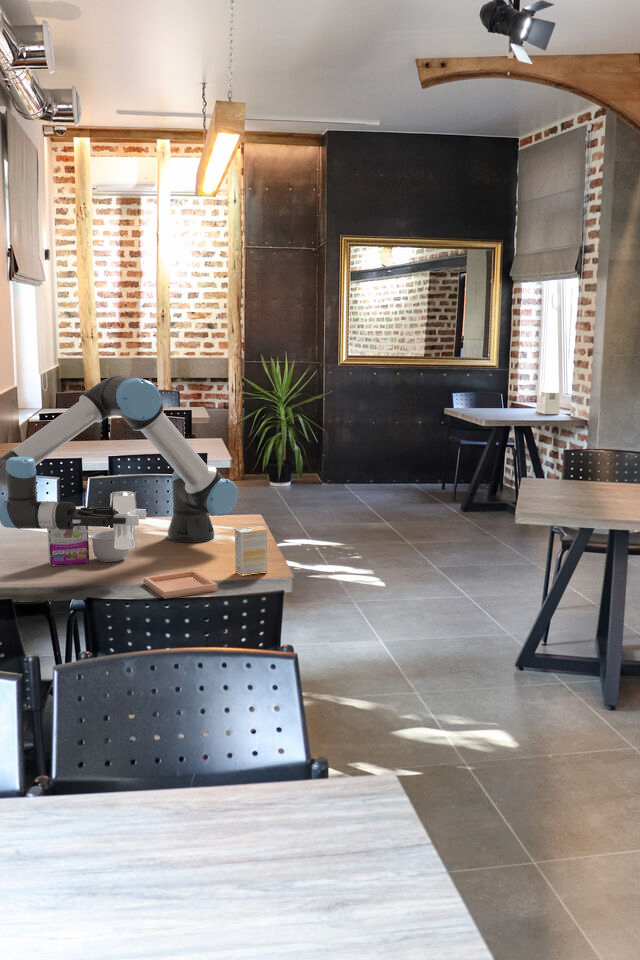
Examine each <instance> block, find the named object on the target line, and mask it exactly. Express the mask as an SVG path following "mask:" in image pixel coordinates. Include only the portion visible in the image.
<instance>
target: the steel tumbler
mask: <svg viewBox="0 0 640 960" xmlns="http://www.w3.org/2000/svg"><path fill="white" fill-rule="evenodd" d="M109 507H110V513H111V516H113V518H114V515H136V514H137V509H138V508H137V497H136V492H134V491H128V490H125V491H124V490H121V491H113V492H111V493H110V503H109ZM113 526H114V528H112V529H113V530H114V545H113V548H114V549H116V550H129V551H130V550H131V551H132V550H134V549H136V548H137V544H136V543H137V542H136V540H135V528H136V526H128V525H114V524H113Z"/></svg>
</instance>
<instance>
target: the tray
mask: <svg viewBox="0 0 640 960" xmlns="http://www.w3.org/2000/svg"><path fill="white" fill-rule="evenodd" d="M190 577H191V578H192V577H193V579H191V578H190ZM188 578H189V579H188ZM194 578H195V579H194ZM144 583H145V586H146V587H148V588H149V589H150V590H151V591H153V592H154V593H156V594H157V595H159V596H160V597H162V598H163V599H164V600H165V599H166V600H167V599H172V598H177V597H179V598H180V597H184V596H191V595H196V594H203V593H210V592H217V591H218V583H216V582H215V581H213V580H211V579H209V578H208V577H206V576H205V575H203V574H201V573H199V571H196V570H194V569H193V570H188V571H181V572H173V573H166V574H159V575H152V576H146V577H143V584H144Z"/></svg>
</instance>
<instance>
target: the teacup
mask: <svg viewBox="0 0 640 960" xmlns="http://www.w3.org/2000/svg"><path fill="white" fill-rule="evenodd" d="M91 542H92V543H91V544H92V550H93V555H94V557H95V558H96V559H98V560H99V561H101V562H103V561H104V562H103V563H114V562H119V561H122V560H123V559H125V557H126V556H127V555H128V554H129V551H130V550H116V549H114V548H113V545H114V529H113V530H104V531H99V532H95V533H93V534H92V535H91Z"/></svg>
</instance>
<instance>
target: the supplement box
mask: <svg viewBox="0 0 640 960" xmlns="http://www.w3.org/2000/svg"><path fill="white" fill-rule="evenodd" d="M234 541H235V542H234V543H235V544H234V548H235V549H234V550H235V551H234V552H235V553H234V556H235V557H234V558H235V560H234V561H235V563H234V564H235V573H236V572H238V573H240V574H241V575H242V574H251V573H261V572H267V573H268V528H265V527H263V526H261V525H259V526H249V527H241V528H235V529H234Z"/></svg>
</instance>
